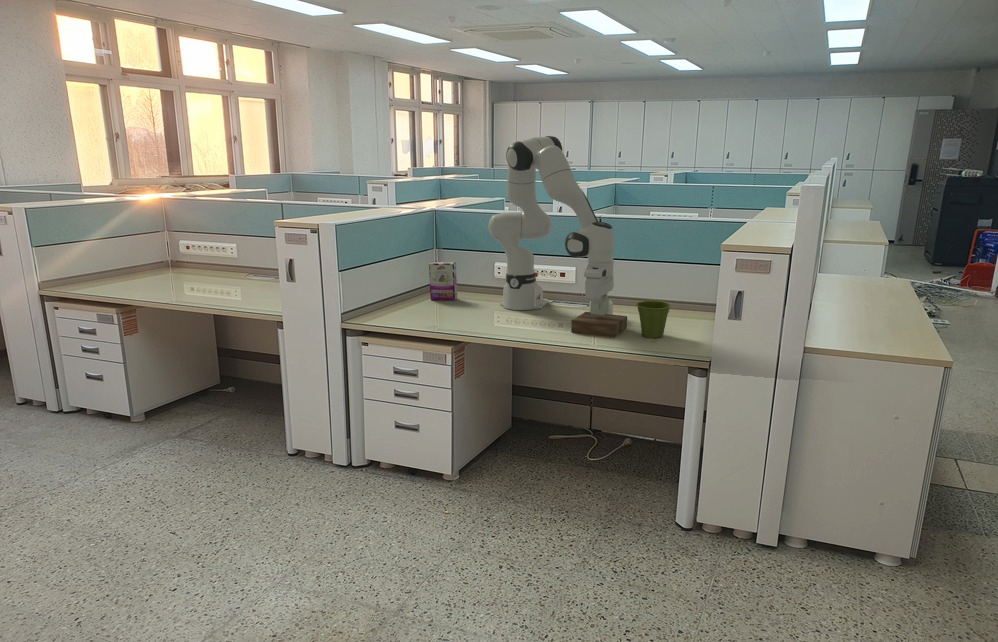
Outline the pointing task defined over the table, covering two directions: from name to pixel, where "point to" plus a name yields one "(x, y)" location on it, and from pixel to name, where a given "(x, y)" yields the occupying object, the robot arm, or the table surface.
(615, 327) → the walnut block
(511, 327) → the table surface
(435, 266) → the candy bar box
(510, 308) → the robot arm
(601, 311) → the sage cube
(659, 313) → the plant pot
